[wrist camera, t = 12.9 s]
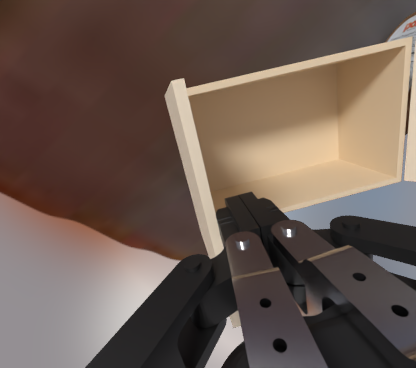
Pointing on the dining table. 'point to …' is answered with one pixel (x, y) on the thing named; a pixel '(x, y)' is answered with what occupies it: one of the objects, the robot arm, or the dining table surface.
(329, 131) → the carton
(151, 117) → the dining table surface
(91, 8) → the dining table surface
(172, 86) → the front flap
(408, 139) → the back flap
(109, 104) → the dining table surface
